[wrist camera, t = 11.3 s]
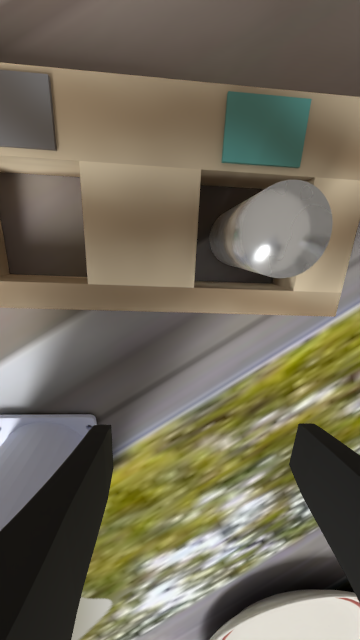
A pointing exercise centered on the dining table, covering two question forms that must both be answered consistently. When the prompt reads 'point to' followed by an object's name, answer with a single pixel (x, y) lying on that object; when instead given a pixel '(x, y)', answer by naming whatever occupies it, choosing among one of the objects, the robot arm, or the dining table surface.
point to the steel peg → (275, 230)
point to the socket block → (174, 183)
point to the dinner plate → (297, 617)
